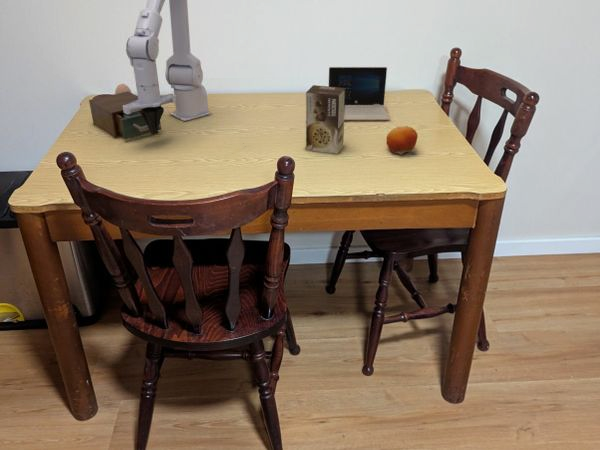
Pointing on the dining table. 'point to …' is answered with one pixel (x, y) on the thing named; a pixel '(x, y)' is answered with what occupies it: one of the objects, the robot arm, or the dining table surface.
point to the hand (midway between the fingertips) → (154, 133)
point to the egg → (122, 89)
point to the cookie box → (325, 118)
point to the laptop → (361, 91)
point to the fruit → (402, 139)
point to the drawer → (131, 125)
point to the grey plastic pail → (131, 114)
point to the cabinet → (109, 110)
